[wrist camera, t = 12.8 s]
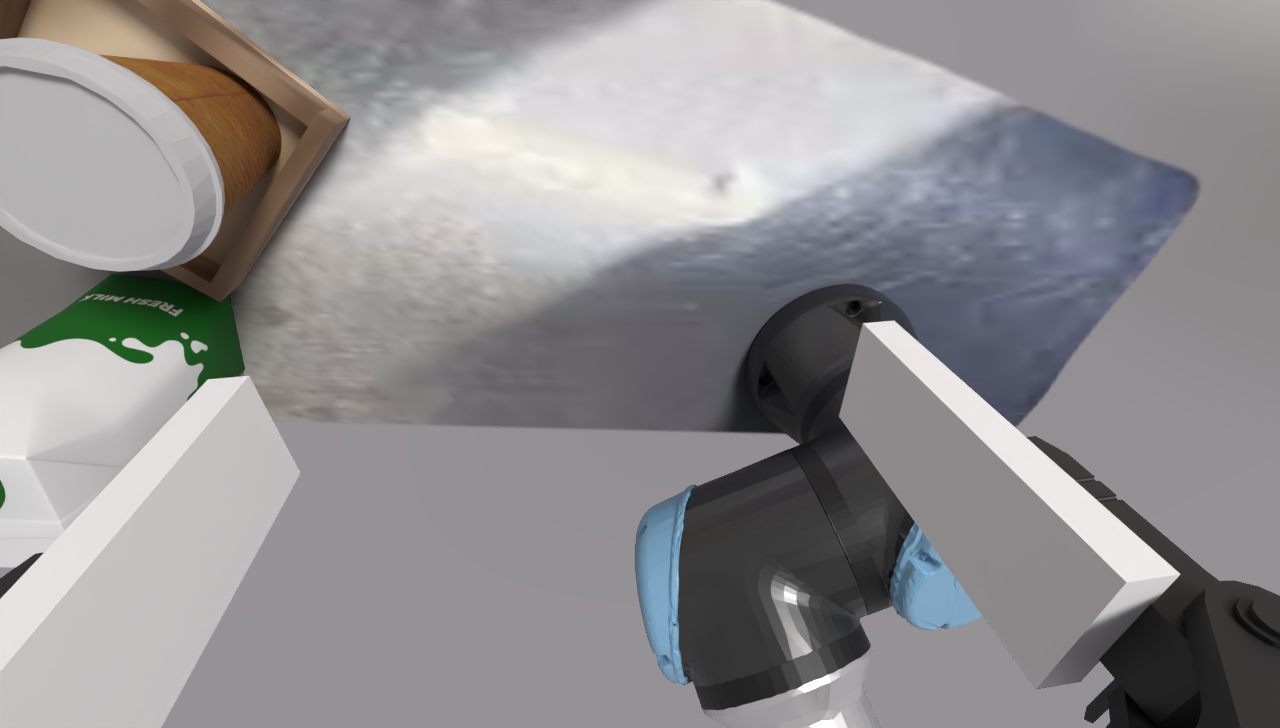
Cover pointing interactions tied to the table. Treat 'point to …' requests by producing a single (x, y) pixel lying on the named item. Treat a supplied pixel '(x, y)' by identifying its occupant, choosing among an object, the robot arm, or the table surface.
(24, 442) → the milk carton
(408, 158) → the table surface
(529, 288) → the table surface
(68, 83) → the disposable coffee cup
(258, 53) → the wooden tray
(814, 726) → the robot arm
